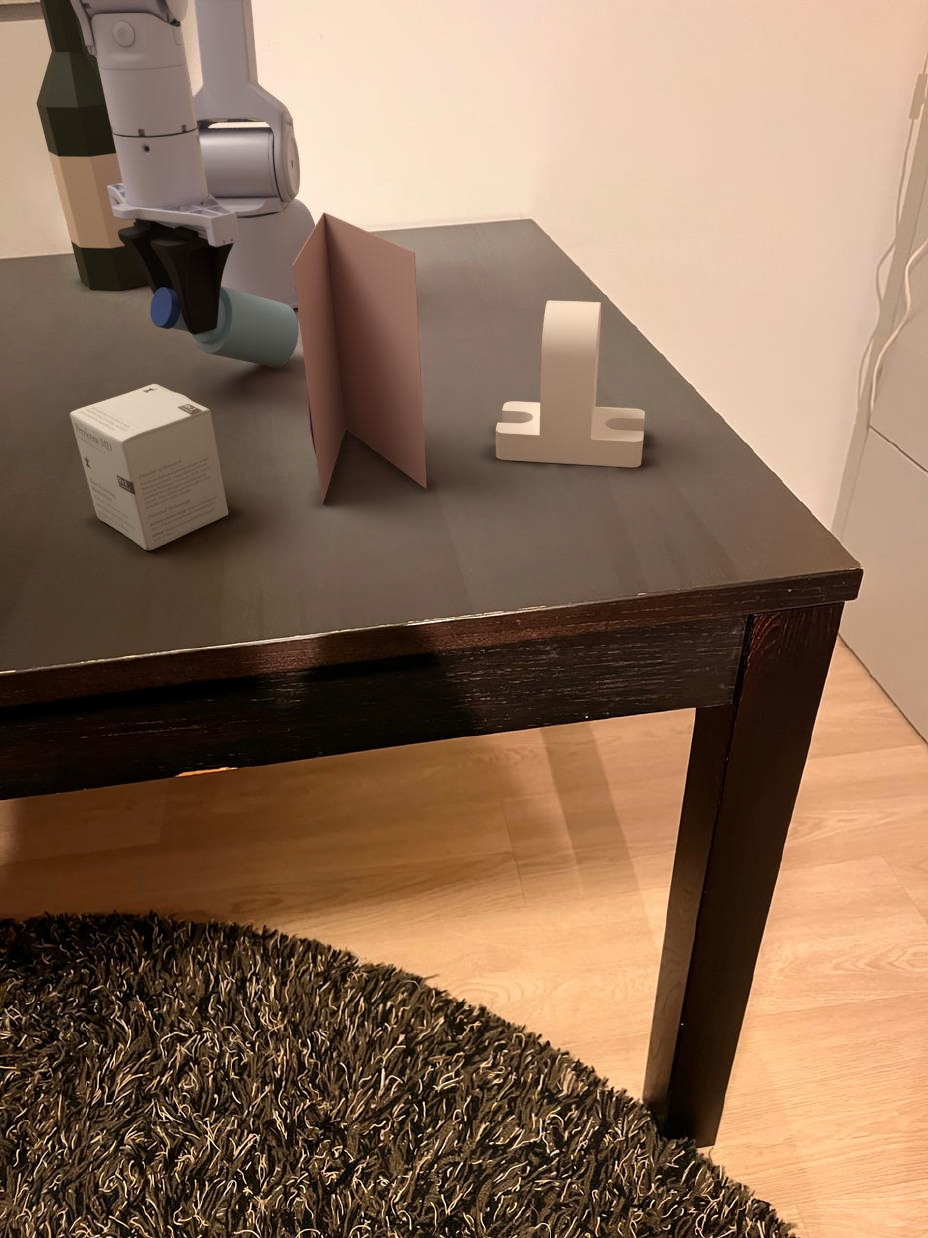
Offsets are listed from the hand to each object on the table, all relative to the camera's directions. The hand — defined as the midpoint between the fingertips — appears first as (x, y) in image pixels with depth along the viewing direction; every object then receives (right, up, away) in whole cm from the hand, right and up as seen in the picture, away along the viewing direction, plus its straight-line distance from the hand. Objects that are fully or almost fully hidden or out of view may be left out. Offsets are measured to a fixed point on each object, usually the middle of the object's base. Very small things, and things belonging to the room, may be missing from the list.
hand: (191, 325), depth 75 cm
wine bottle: (-15, +13, +28) cm, 34 cm away
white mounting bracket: (+28, -11, -7) cm, 31 cm away
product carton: (+2, -16, -13) cm, 21 cm away
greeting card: (+15, -12, -8) cm, 21 cm away
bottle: (+6, +1, +6) cm, 8 cm away
